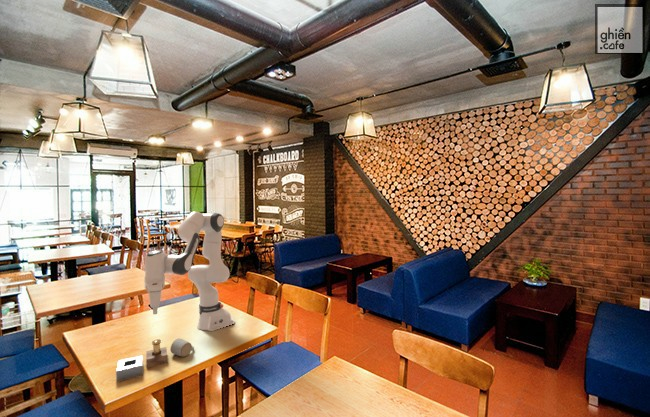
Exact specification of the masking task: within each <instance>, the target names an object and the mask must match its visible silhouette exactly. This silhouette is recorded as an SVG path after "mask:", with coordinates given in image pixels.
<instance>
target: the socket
mask: <svg viewBox="0 0 650 417" xmlns="http://www.w3.org/2000/svg"><path fill="white" fill-rule="evenodd" d="M143 357H144V355H138V356H137V355H136V356H133V357H128V358H124V359H119V360H117V364H116V371H115V372H116V374H115V375H116V383H119V382H122V381H126V380H130V379H134V378H138V377H143V375H144V374H143V372H144V358H143Z"/></svg>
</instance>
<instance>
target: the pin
mask: <svg viewBox="0 0 650 417" xmlns="http://www.w3.org/2000/svg"><path fill="white" fill-rule="evenodd" d="M161 343H162V342H161V339H160V338H159V339H153V340H152V341H151V345H152V350H153V356H154V355H158V354H160V348H161Z"/></svg>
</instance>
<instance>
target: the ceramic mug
mask: <svg viewBox="0 0 650 417" xmlns="http://www.w3.org/2000/svg"><path fill="white" fill-rule="evenodd" d="M194 349H195V347H194V346H193V345H192V343H191V342H189V341H187V340H185V339H184V338H177V339H176V338H175V340H174V341H173V342H172V343H171V346H170V349H169V350H170V352H171V354H173V355H176V356H179V357H183V358H185V357H187V356H189V354H190V353H191V352H192V351H194Z"/></svg>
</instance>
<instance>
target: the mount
mask: <svg viewBox="0 0 650 417" xmlns="http://www.w3.org/2000/svg"><path fill="white" fill-rule="evenodd" d="M145 352H146V353H145V354H146V355H145V361H146V364H145V365H146V366H145V368H151V367H155V366H159V365H162V364H163V365H164V364H166V363H168V348H167V346H164V347H160V354H158V355H154V356H153V349H150V350H146V351H145Z"/></svg>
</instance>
